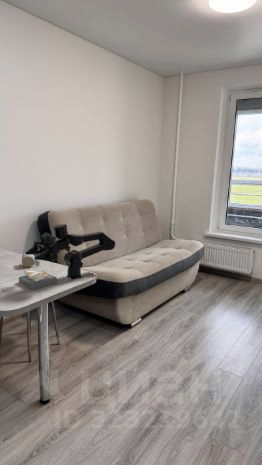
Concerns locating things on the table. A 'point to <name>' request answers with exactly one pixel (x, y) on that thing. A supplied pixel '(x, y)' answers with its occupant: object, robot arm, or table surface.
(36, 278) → the rocker
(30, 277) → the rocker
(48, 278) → the switch unit
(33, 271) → the rocker
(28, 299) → the table surface
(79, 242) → the robot arm
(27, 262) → the ceramic mug
